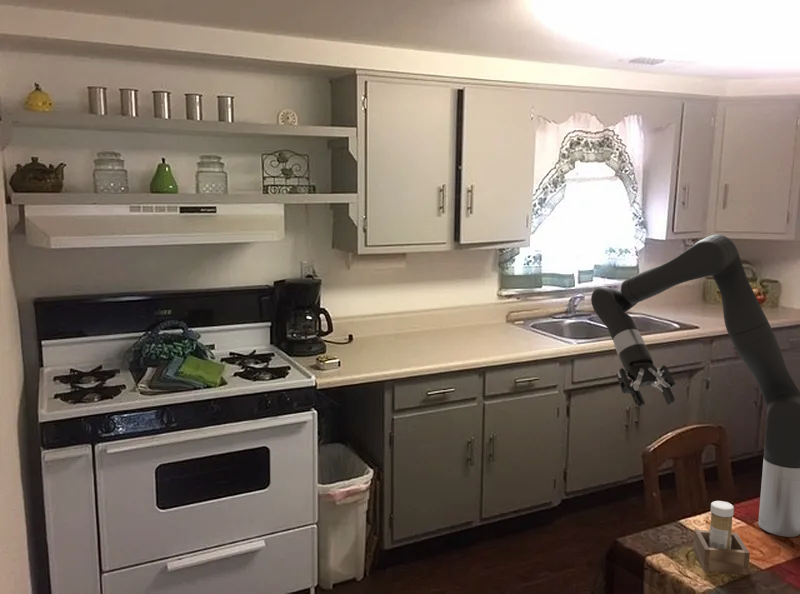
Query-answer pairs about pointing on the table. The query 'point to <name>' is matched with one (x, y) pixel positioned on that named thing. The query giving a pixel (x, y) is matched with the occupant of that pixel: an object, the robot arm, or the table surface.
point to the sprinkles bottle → (721, 525)
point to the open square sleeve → (721, 554)
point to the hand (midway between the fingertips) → (656, 404)
